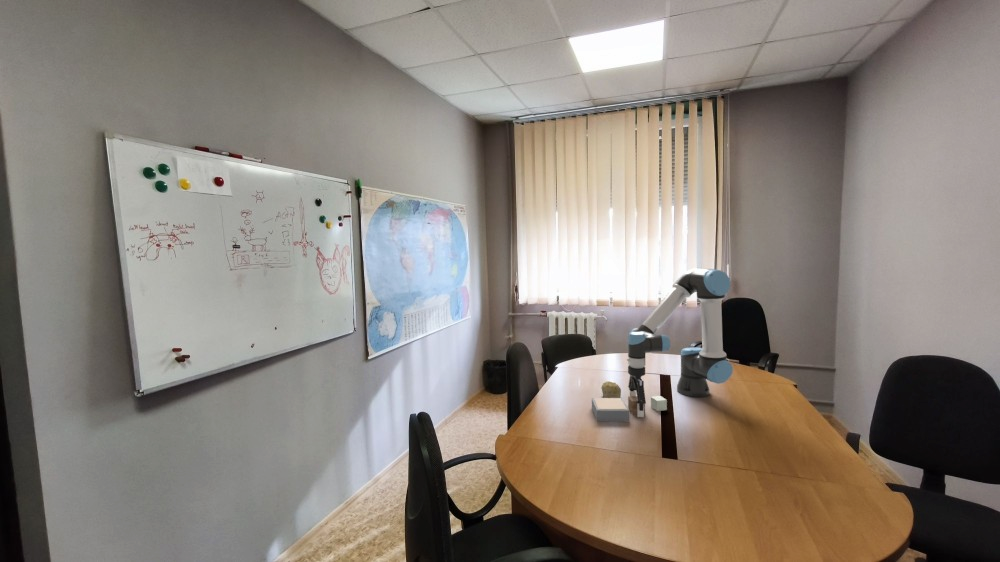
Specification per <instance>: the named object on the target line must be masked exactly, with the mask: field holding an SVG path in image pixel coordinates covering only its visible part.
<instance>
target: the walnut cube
mask: <svg viewBox="0 0 1000 562" xmlns="http://www.w3.org/2000/svg"><path fill="white" fill-rule="evenodd" d="M641 401H642V400H641ZM637 402H638V398H637V395H636V396H630V395H628V399H627V403H628V404H627V405H628V406H627V407H628V409H629V413H630V414H631V415H633V414H634V415H635V414H636V415H637ZM644 415H646V404H644Z"/></svg>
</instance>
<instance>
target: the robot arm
mask: <svg viewBox="0 0 1000 562" xmlns="http://www.w3.org/2000/svg"><path fill="white" fill-rule="evenodd" d="M730 289H731V279H730V277H729V276H728V274H727V273H726V272H724V271H723V270H720V269H716V268H702V267H701V268H699V267H697V268H692V269H690V270H687V271H686V272H684V274H681V276H680V277H678V278H677V280H676V281H675V282H674V284H672V289H671V290H670V291H669V292H668V293H667V295H665V297H664V298H663V299H662V300H661V301H660V303H659V304H658V305H657V306H656V307H655V308H654V310H653V311H651V313H650V314H649V315H648V316H647V318H646V319H645V320H644V321H643V322H642V324H641V325H640V326H639V327H634V328H633V329H631V330H630V331H629V333H628V337H627V359H626V361H627V364H628V366H627V374H628V375H629V380H628V386H627V387H628V390H629V396H637V398H638V402H637V414H636V416H637V418H644V417H645V414H644V404H645V405H646V401H647V400H646V395H645V393H646V392H645V387H644V385H645V384H644V383H645V381H644V380H643V379H642V377H643V376H646V353H659V352H661V353H662V352H665V351H669V350H670V348H671V340H670V337H669V336H667V335H666V334H656V333H657V332H658V331H659V330H660V328H661V327H662V326H663V325H664V324H665V323H666V321H667V320H668V319H669V318H670V317H671V316H672V314H673V313H674V312H675V311H676V310H677V309H678V307H680V305H682V303H683V302H684V301H685V299H686V298H687V299H688V298H690V297H691V296H692V295H693V294H694V293H696V299H697V300H699V301H700V319H701V343H702V347H693V346H692V347H685V348H682V349H681V352H680V377H679V379H678V382H677V385H676V391H677V392H678V393H680V394H681V395H683V396H688V397H693V398H694V397H695V398H705V397H708V396H709V395H710V386H709V384H708V382H707V381H709V382H710V383H715V384H719V385H720V384H724V383H727V382H728V381H729V379H731V376H732V374H733V372H734V368H733V365H732V364H731V362H730V361H728V359H727V358H728V356H727V353H726V352H725V351H724V348H723V347H724V346H723V345H724V344H723V316H722V314H723V313H722V310H723V309H722V301H723V300H724V299H725V298H726V294H727V293H728V292H729V290H730ZM641 400H642V401H641Z"/></svg>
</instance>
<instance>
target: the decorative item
mask: <svg viewBox="0 0 1000 562" xmlns="http://www.w3.org/2000/svg"><path fill="white" fill-rule="evenodd" d="M600 388H601V392H602V396H603V398H622V397H621V396H622V395H621V394H622V388H621V386H620V385H619V384H617V383H616V382H612V381H604V383H602V385H601V387H600Z"/></svg>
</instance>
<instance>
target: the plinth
mask: <svg viewBox="0 0 1000 562" xmlns="http://www.w3.org/2000/svg"><path fill="white" fill-rule="evenodd" d="M625 402H626V401H625V400H624V399H623V397H621V398H605V397H591V409H592V412H593V414H594V417H595V420H596V422H630V410H629V409H628V406H627V405H626V403H625Z"/></svg>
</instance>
